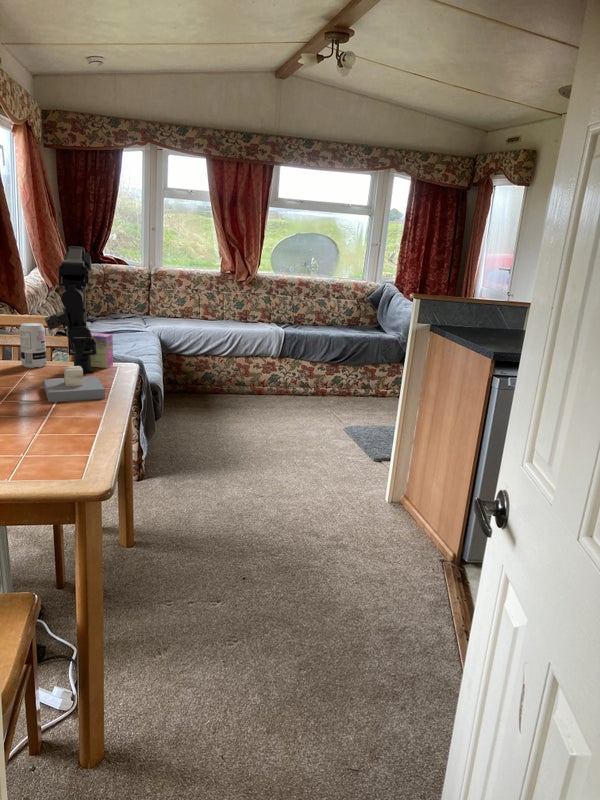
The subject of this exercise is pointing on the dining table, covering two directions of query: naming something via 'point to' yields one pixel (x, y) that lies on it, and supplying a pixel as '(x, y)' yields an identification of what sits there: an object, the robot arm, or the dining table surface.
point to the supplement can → (32, 345)
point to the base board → (73, 390)
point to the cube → (73, 376)
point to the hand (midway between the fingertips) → (76, 355)
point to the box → (102, 350)
